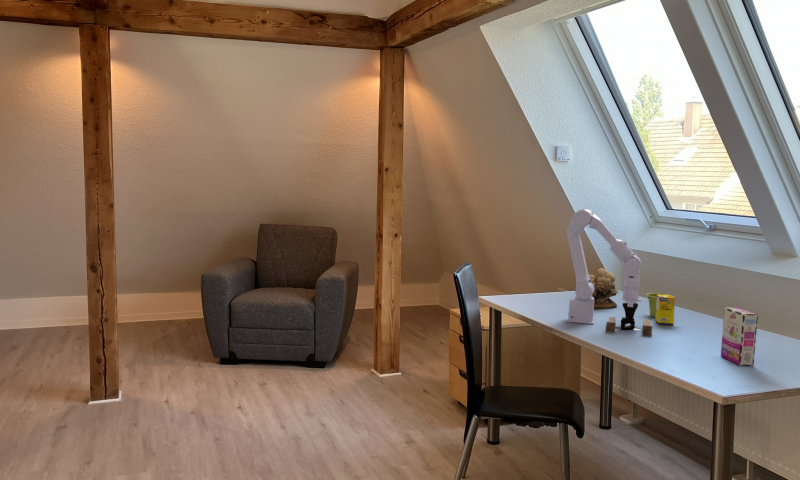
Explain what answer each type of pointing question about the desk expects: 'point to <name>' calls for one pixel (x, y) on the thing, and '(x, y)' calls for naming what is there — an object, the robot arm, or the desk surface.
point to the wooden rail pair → (645, 331)
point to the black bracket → (628, 321)
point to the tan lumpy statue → (604, 289)
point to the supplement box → (665, 309)
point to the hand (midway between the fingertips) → (629, 322)
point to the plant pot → (653, 302)
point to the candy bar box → (739, 336)
